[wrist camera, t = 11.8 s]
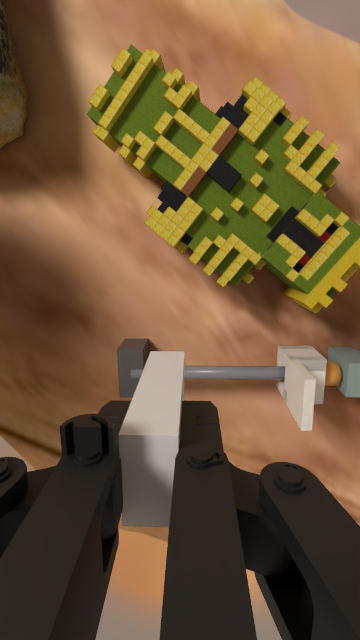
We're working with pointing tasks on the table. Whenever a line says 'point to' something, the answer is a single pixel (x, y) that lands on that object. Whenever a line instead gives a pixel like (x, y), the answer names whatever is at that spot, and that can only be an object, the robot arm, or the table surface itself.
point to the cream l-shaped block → (302, 381)
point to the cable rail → (239, 369)
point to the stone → (10, 86)
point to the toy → (231, 178)
